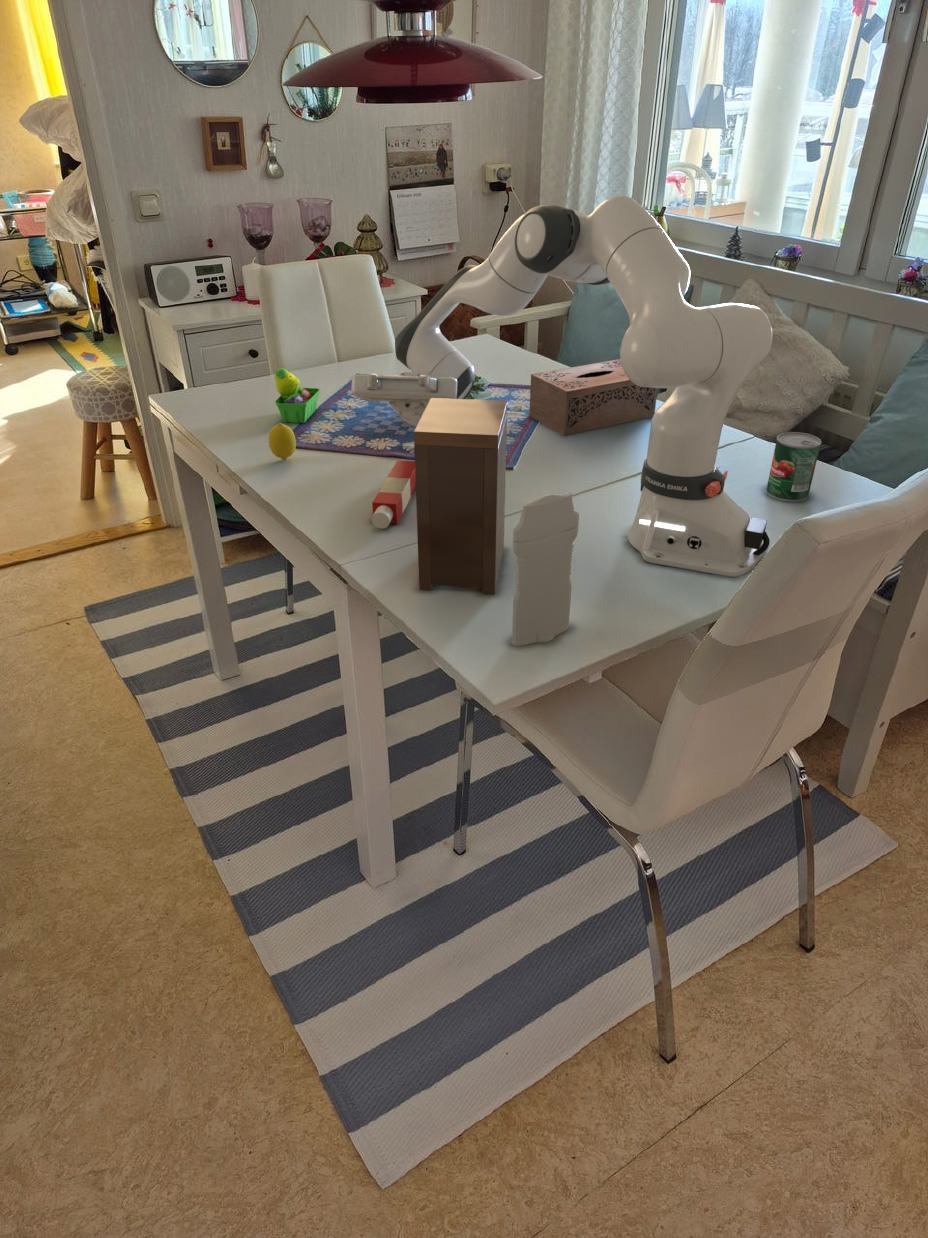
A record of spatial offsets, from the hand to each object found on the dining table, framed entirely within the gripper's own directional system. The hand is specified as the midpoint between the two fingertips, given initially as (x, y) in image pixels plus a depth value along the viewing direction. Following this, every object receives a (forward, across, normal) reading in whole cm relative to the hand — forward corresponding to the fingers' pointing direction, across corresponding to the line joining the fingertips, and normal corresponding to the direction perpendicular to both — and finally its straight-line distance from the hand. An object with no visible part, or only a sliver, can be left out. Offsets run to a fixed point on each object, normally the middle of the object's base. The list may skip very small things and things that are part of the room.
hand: (398, 379), depth 156 cm
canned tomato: (-17, +74, +16) cm, 78 cm away
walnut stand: (+16, +16, +34) cm, 41 cm away
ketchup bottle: (-5, 0, +22) cm, 23 cm away
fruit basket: (-44, -33, 0) cm, 55 cm away
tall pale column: (+31, +30, +43) cm, 61 cm away
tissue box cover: (-51, +36, -4) cm, 63 cm away
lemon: (-20, -28, +13) cm, 37 cm away
